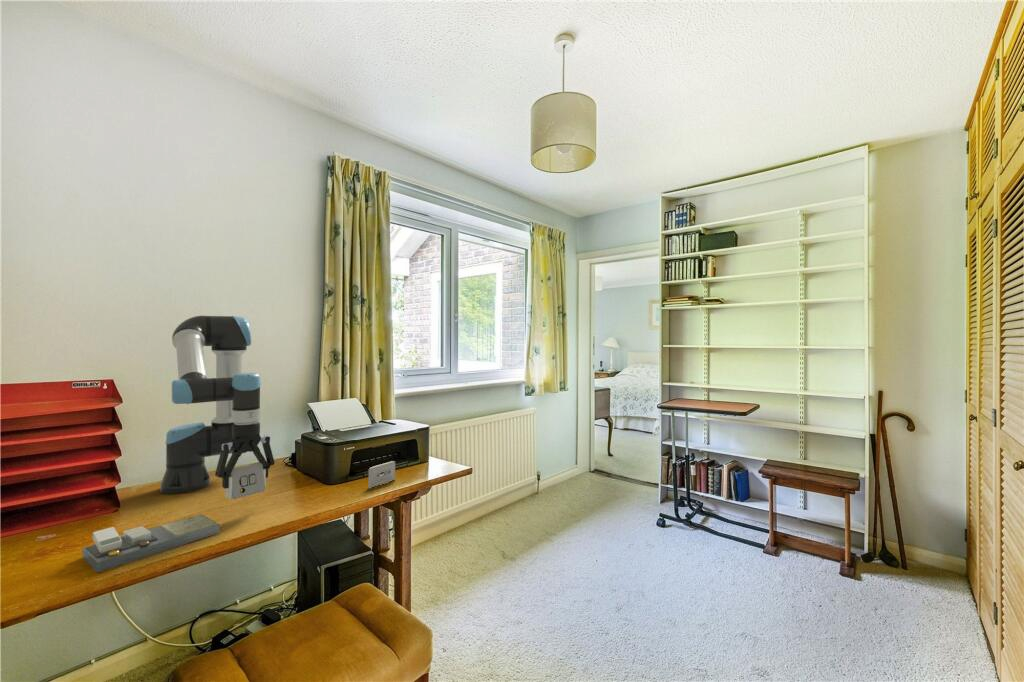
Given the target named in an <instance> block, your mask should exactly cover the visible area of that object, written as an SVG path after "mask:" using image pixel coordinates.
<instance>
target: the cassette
mask: <svg viewBox="0 0 1024 682" xmlns="http://www.w3.org/2000/svg"><path fill="white" fill-rule="evenodd" d="M381 473H383V474H381ZM394 479H395V480H396V461H394V460H391V461H388V462H385V463H384V462H383V463H382V464H381V463H380V464H378V465H374V466H372V467H370V468H369V469H368V489H370V488H371V489H372V487H374V486H377V485H380V484H383V483H386V482H389V481H392V480H394ZM392 482H393V481H392Z"/></svg>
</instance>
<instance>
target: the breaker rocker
mask: <svg viewBox="0 0 1024 682" xmlns="http://www.w3.org/2000/svg"><path fill="white" fill-rule="evenodd" d="M120 537H121V536H120V535H119V533H118V531H117V530H116V528H115V527H114V526H112V527H111V526H110V527H107V528H103V529H99V530H97V531H94V532H92V540H93V542H94V544H96V546H97V548H98V550H99V552H100V553H103V552H106V551H110V550H113V549H116V548H120V547H122V540H121V538H120Z"/></svg>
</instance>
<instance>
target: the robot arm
mask: <svg viewBox="0 0 1024 682" xmlns="http://www.w3.org/2000/svg"><path fill="white" fill-rule="evenodd" d="M250 328H251V327H250V324H249V321H248V320H247V318H245V317H243V316H233V315H231V316H226V315H225V316H224V315H196V316H192V317H189V318H187V319H185V320H183V321H182V322H181V323H180V324H179V325H177V327H176V328H175V330H173V332H172V336H171V337H172V338H171V339H172V342H171V343H172V346H173V347H174V348H175V349H176V359H177V361H176V363H177V375H178V376H177V377H178V378H177V379H174V380H172V382H171V402H172V404H175V405H179V404H180V405H182V404H184V405H185V404H186V405H189V404H199V403H200V404H201V403H212V402H215V405H216V406H215V409H216V410H215V411H216V412H215V413H216V414H215V417H214V418H213V419H212V420H211V421H210V422H211V423H210V424H211V425H206V424H205V423H204V422H194V423H193V422H192V423H186V424H182V425H180V426H179V425H178V426H176V427H173V428H170V429H169V430H168V431H167V432H166V435H165V436H166V440H165V445H166V448H165V449H166V450H165V453H166V455H165V467H166V468H165V472H164V474H163V477H162V480H161V482H160V485H159V492H160V493H161V494H165V495H177V493H179V494H184V493H185V492H186V493H190V492H195V490H196V491H199V490H202V489H205V488H206V487H209V486H210V485H211V477H210V474H209V472H208V469H207V466H206V464H205V462H206V460H205V458H207V457H214V456H219V458H218V462H217V466H216V468H215V469H216V470H215V474H214V476H215V477H217V478H219V479H221V478H222V479H221V482H222V484H221V485H222V486H221V487H222V489H225V498H226V499H228V500H231V499H233V498H232V477H230V474H231V472H232V470H233V468H235V466H236V464H237V462H238V460H239V459H240V457H242V455H243V454H245V453H247V452H249V453H251V452H252V454H254V456H255V458H256V460H257V461H258V463H262V464H263V473H264V481H265V490H266V488H267V487H266V486H267V483H266V482H267V481H266V480H267V479H268V478H269V469H270V468H271V466H273V465H275V460H274V456H273V451H272V447H271V444H270V442H271V437H270V436H268V435H263V436H261V435H260V434H261V423H260V420H261V401H260V400H261V375H260V374H259V373H257V372H255V373H254V372H243V354H244V353H246V352H247V349H248V348H247V347H250V346H251V345H252V333H251V329H250ZM204 347H210V348H211V352H212V353H214V354H215V358H216V359H215V362H216V363H215V364H216V365H215V369H216V370H215V374H216V375H215V376H216V377H214V378H213V377H212V378H210V377H209V378H208V374H207V369H206V366H207V365H206V360H205V354H204ZM260 443H261V444H262V448H263V452H264V455H265V457H264V455H263V453H262V452H261V450H260V448H259V446H258V445H259V444H260ZM229 454H230V455H231V456H230V458H229ZM228 459H229V460H228Z"/></svg>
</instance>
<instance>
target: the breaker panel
mask: <svg viewBox="0 0 1024 682" xmlns="http://www.w3.org/2000/svg"><path fill="white" fill-rule="evenodd" d="M122 532H123V533H122V536H120V538H121V540H122V547H120V548H116V549H113V550H110V551H106V552H103V553H100V552H99V550H98V548H97V546H96V544H95V543H94V544H91V545H87V546H85V547H82V548H81V549H82V551H81V552H82V557H83V558H84V559H85V560H86V561H85V560H84V559H83V558H82V559H83V560H84V561H85V562H86V563H87V564H88V565H89V566H90V567H91V568H92V569H93V570H94V571H95V572H96V573H97V574H99V573H101V572H105V571H108V570H111V569H114V568H116V567H119V566H120V567H121V566H123V565H126V564H129V563H132V562H135V561H138V560H142V559H145V558H147V557H150V556H153V555H156V554H159V553H163V552H166V551H169V550H171V549H175V548H178V547H181V546H185V545H187V543H188V544H190V543H189V542H191V543H193V542H192V541H194V542H196V541H195V540H197V541H199V540H198V539H200V540H202V539H201V538H203V539H205V538H204V537H206V538H208V536H209V537H211V535H212V536H214V534H215V535H217V534H216V533H218V534H220V524H219V523H218V522H217V521H215V520H213V519H212V518H210V517H208V516H206V515H205V514H202V513H201V514H195V515H193V516H190V517H187V518H183V519H179V520H175V521H172V522H169V523H164V524H162V525H158V526H157V525H156V526H155V527H151V528H148V529H147V528H145V527H144V526H143V525H141V526H138V527H134V528H130V529H127V530H124V531H122ZM184 544H185V545H184Z"/></svg>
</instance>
